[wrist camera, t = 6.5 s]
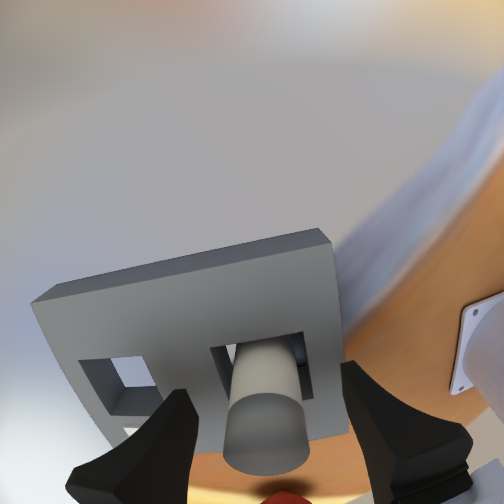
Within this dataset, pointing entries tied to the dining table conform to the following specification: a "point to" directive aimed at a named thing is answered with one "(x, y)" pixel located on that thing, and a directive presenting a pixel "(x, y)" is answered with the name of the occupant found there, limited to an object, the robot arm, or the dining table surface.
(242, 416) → the plug
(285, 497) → the red rounded oval piece
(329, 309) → the socket panel
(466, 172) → the dining table surface
